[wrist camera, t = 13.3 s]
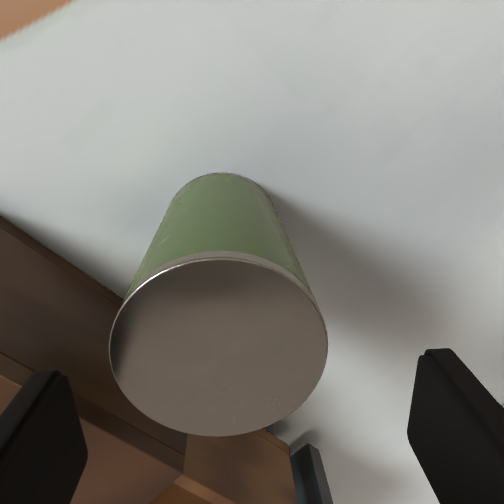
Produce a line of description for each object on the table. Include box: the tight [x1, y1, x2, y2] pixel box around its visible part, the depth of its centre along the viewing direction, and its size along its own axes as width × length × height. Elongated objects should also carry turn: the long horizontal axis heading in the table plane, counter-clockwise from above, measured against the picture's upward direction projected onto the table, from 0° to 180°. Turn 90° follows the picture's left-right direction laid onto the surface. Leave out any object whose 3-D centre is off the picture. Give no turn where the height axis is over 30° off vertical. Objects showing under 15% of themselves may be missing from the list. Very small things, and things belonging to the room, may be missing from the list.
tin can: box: [108, 173, 328, 437], centre depth 16 cm, size 6×6×12 cm
